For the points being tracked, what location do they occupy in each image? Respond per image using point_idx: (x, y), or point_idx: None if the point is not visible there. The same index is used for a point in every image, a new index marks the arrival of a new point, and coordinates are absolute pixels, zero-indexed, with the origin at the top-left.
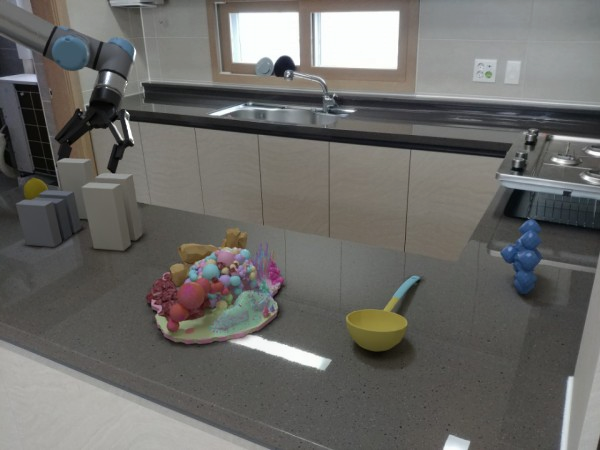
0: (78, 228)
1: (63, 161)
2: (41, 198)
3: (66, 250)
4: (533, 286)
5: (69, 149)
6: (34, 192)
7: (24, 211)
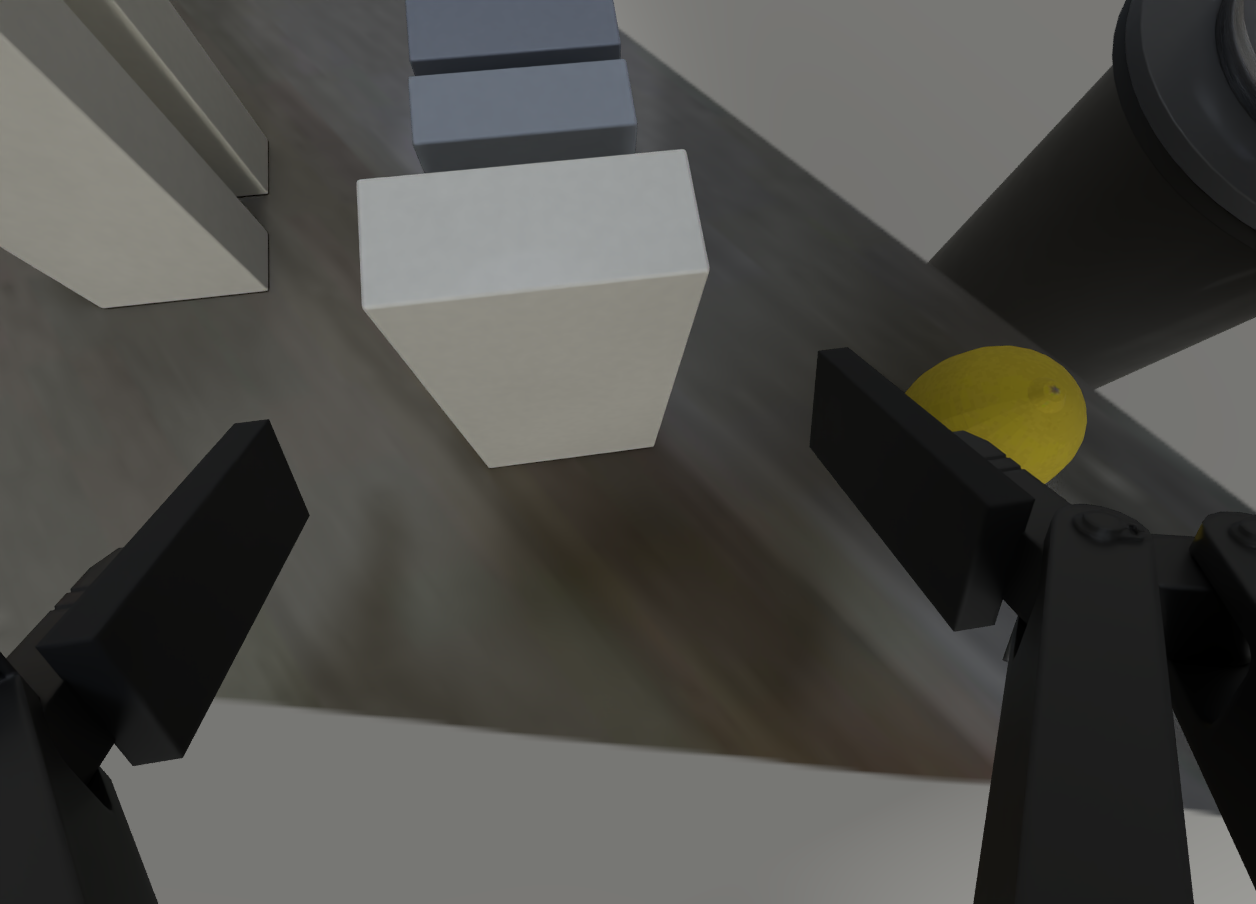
0: None
1: (612, 168)
2: (565, 33)
3: (381, 101)
4: None
5: (933, 562)
6: (941, 365)
7: None
